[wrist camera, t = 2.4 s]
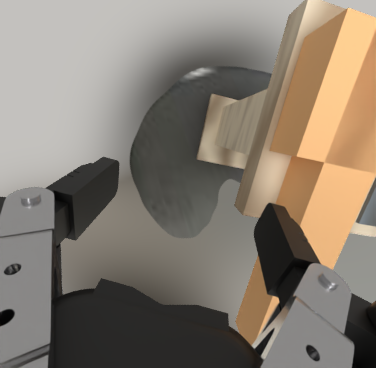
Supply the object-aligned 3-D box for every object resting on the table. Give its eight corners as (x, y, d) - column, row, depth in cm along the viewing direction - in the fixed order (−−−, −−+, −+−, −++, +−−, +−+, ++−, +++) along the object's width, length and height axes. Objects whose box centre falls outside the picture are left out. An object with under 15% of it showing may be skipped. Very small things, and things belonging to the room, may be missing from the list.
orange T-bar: (398, 67, 13) (464, 49, 10) (288, 325, 18) (310, 362, 15) (304, 37, 12) (348, 7, 9) (216, 319, 17) (226, 358, 14)
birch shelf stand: (273, 111, 44) (517, 67, 13) (255, 170, 48) (417, 245, 17) (206, 93, 42) (313, -8, 11) (192, 157, 45) (244, 216, 14)
